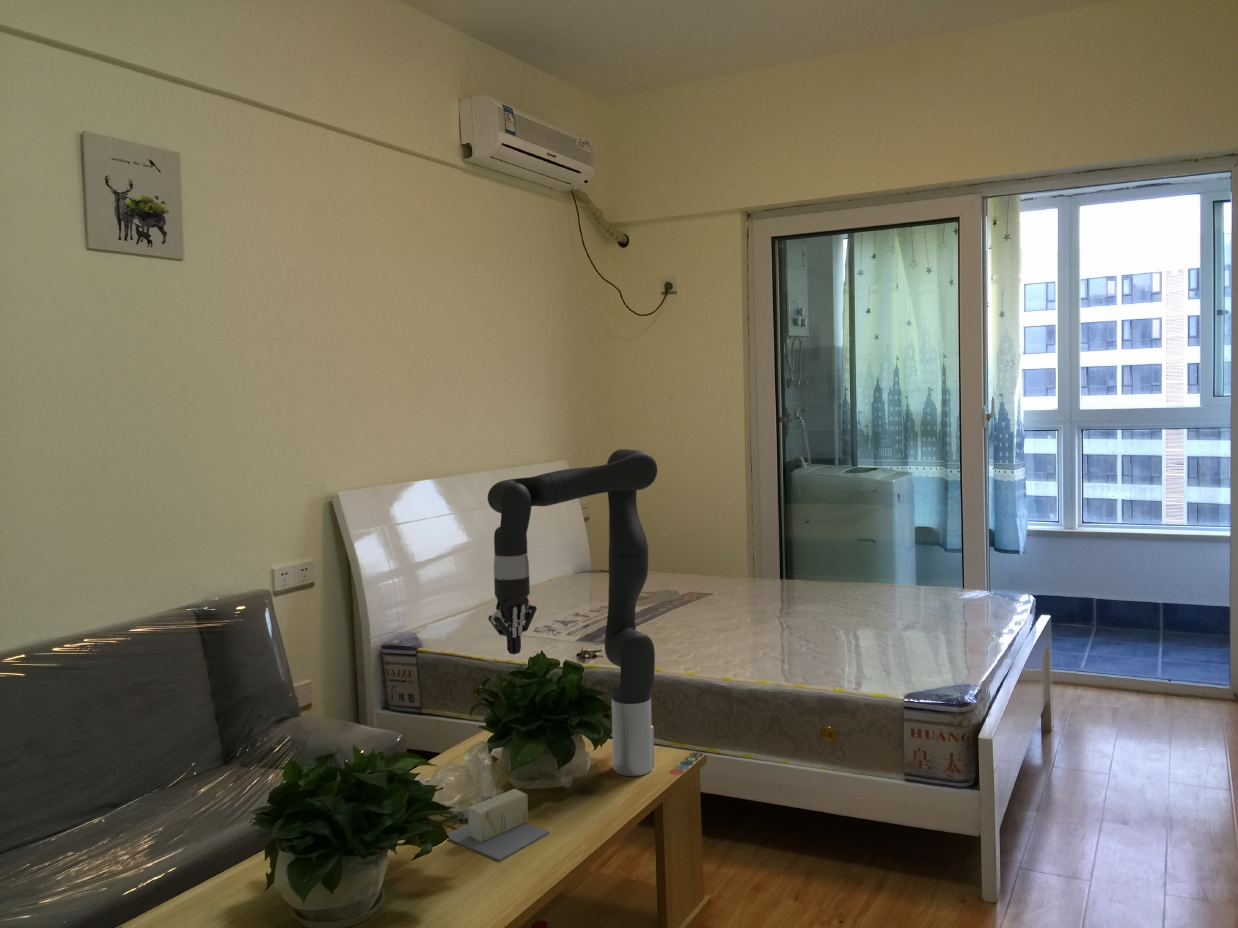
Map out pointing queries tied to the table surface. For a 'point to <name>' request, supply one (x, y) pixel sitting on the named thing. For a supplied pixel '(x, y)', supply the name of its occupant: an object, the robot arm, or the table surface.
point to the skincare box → (497, 815)
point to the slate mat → (499, 840)
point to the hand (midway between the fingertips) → (514, 653)
